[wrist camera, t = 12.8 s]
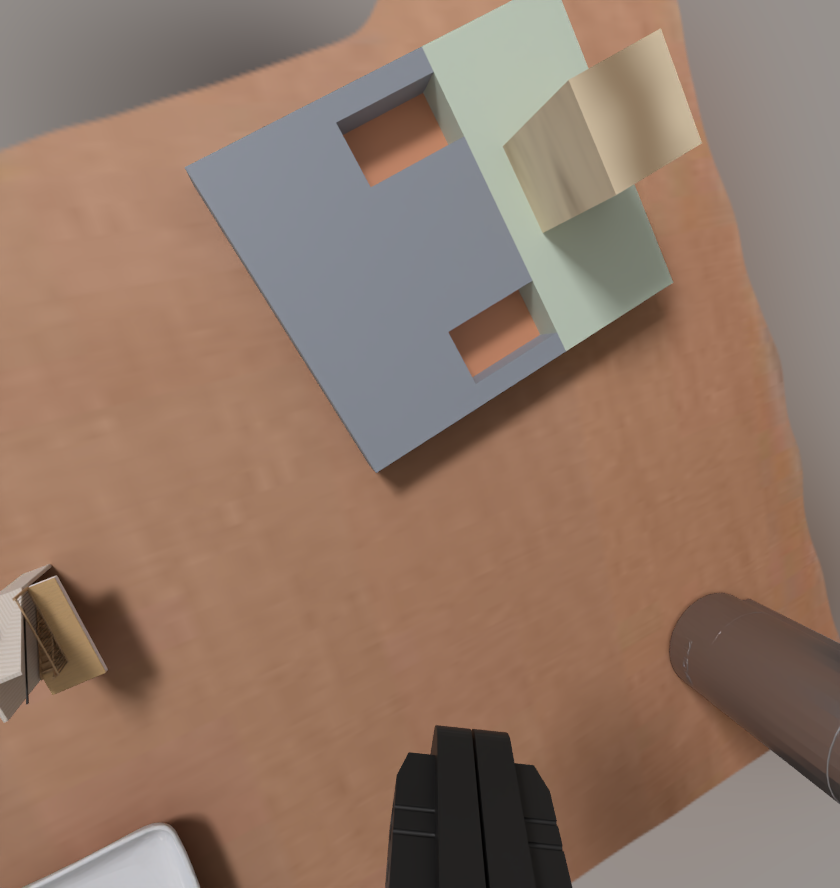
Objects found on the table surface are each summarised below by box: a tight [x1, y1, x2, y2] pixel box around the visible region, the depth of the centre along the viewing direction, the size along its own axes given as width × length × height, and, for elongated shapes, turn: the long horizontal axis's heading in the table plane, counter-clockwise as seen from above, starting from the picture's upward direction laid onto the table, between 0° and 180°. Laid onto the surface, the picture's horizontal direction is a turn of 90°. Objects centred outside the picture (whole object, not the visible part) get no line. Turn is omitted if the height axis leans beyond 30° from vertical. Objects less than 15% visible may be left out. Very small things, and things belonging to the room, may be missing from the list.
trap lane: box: [185, 0, 673, 473], centre depth 35 cm, size 26×21×3 cm
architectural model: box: [0, 564, 108, 722], centre depth 30 cm, size 3×7×7 cm, turn 19°
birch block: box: [503, 29, 702, 233], centre depth 30 cm, size 6×6×8 cm
